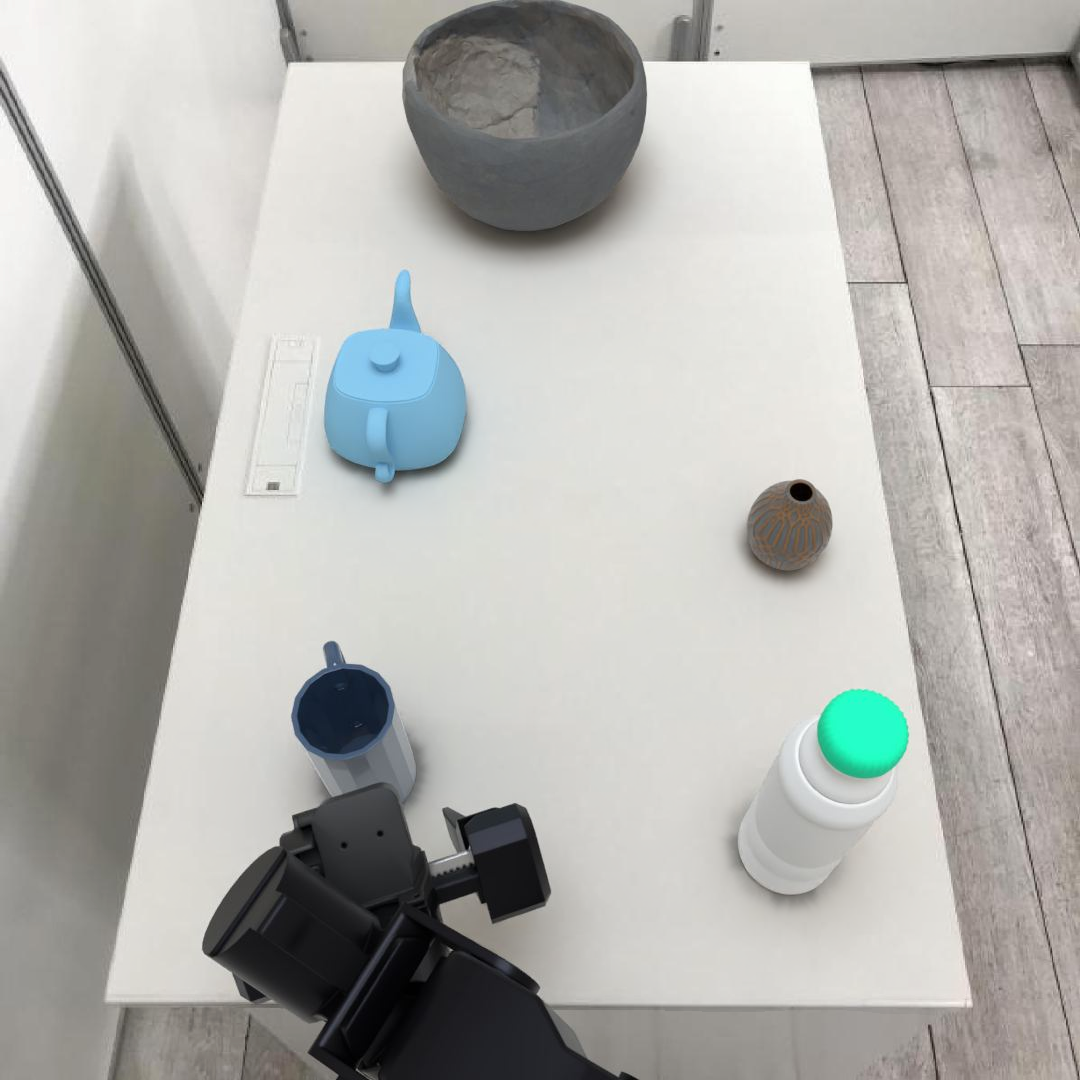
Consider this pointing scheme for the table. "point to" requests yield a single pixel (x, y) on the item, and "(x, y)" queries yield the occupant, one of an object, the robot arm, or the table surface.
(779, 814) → the water bottle
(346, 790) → the mug
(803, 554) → the vase
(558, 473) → the table surface
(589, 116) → the bowl
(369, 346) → the teapot
